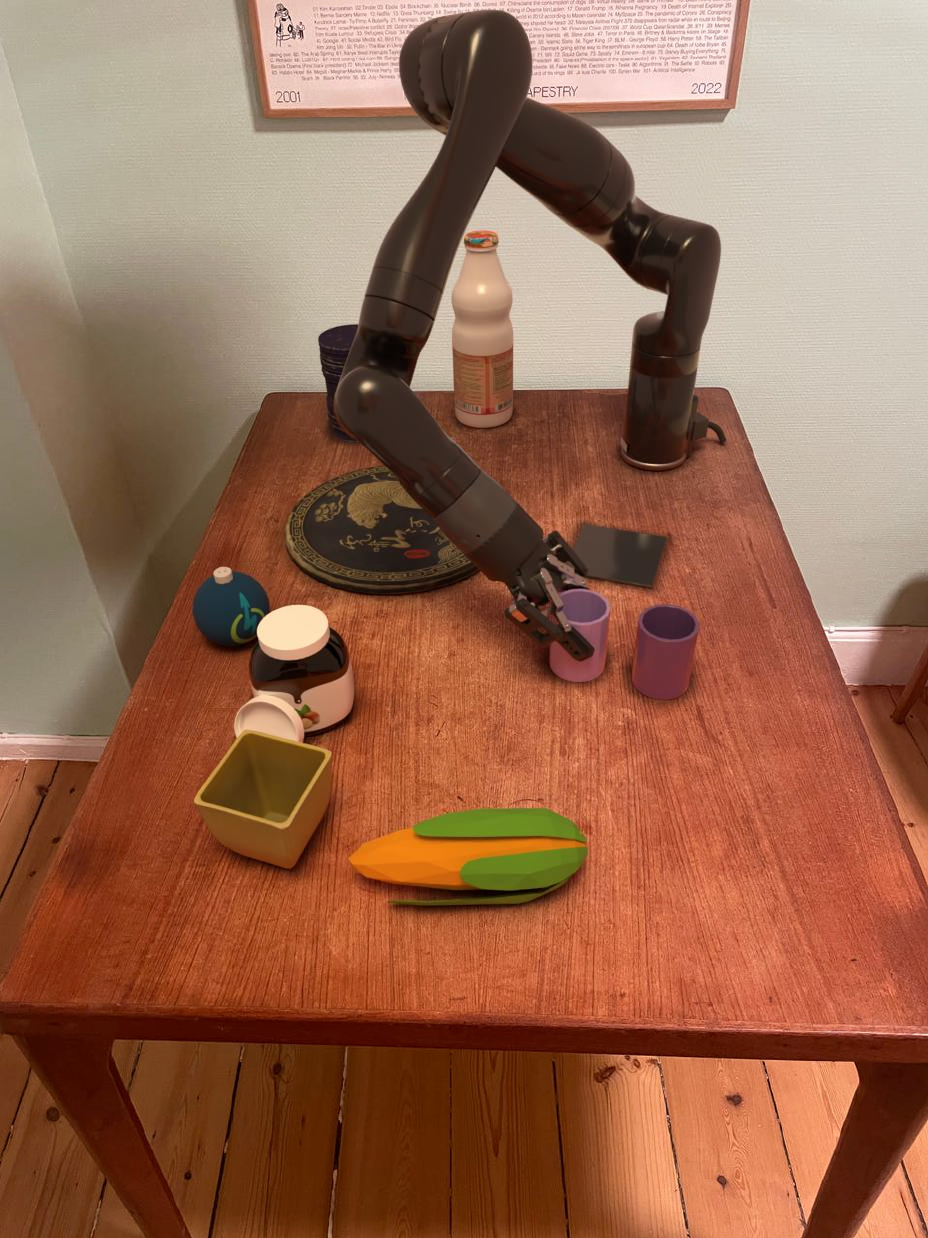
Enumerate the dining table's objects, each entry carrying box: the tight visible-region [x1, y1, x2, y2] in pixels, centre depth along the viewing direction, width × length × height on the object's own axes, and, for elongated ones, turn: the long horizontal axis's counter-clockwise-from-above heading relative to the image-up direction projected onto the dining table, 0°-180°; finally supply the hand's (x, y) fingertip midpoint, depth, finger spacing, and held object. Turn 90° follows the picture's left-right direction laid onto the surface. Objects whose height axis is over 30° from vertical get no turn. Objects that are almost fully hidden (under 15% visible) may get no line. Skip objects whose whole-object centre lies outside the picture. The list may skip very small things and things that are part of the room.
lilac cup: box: [548, 589, 612, 683], centre depth 95 cm, size 6×6×8 cm
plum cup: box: [631, 603, 700, 701], centre depth 93 cm, size 6×6×8 cm
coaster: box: [565, 523, 668, 590], centre depth 113 cm, size 11×11×1 cm
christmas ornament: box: [192, 566, 271, 647], centre depth 100 cm, size 8×8×10 cm
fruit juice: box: [451, 230, 515, 429], centre depth 136 cm, size 9×9×28 cm
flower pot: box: [193, 730, 333, 870], centre depth 78 cm, size 9×9×9 cm
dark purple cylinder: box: [317, 323, 360, 443], centre depth 138 cm, size 10×10×15 cm
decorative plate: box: [284, 465, 480, 595], centre depth 119 cm, size 30×2×30 cm
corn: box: [347, 807, 589, 906], centre depth 74 cm, size 7×8×20 cm
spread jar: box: [233, 604, 355, 743], centre depth 88 cm, size 12×11×12 cm
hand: (594, 636), depth 95 cm, fingers closed on lilac cup, 6 cm apart
